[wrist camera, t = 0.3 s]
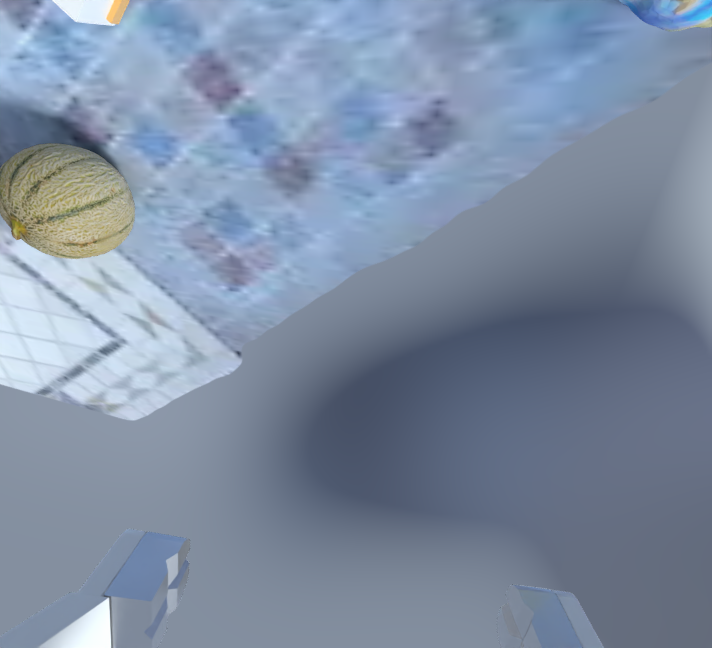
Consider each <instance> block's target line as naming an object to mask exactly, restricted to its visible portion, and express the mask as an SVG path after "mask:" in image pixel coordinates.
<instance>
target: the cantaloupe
mask: <svg viewBox="0 0 712 648" xmlns="http://www.w3.org/2000/svg"><path fill="white" fill-rule="evenodd" d="M0 214H1V216H2V217H3V219H4V220H5V221H6V223H7V224H8V225H9V226H10V228H11V229H12V230H11V232H12V236H13V237H14V238H15V239H16V240H19V239H22V240H23V241H24V242H26V243H27V244H29V245H30V246H32V247H34V248H36V249H37V250H39V251H41V252H43V253H45V254H49V255H52V256H55V257H59V258H69V259H79V258H87V257H91V256H98V255H100V254H105V253H107V252H109V251H110V250H112V249H114V248H116V247H117V246H118V245H120V244H121V243H122V242H123V241H124V240H125V239H126V237H127V236H128V235H129V233H130V231H131V230H132V227H133V223H134V218H135V206H134V201H133V197H132V194H131V191H130V189H129V187H128V185H127V183H126V180H125V179H124V177H123V176H122V175H121V174H120V173H119V172H118V171H117V170H116V169H115V168H114V167H113V166H112V165H111V164H110V163H108V162H107V161H106V160H105V159H104V158H102V157H101V156H99V155H98V154H96V153H94V152H91V151H89V150H87V149H84V148H81V147H76V146H72V145H65V144H58V143H48V144H38V145H35V146H32V147H29V148H26V149H23V150H22V151H20V152H18V153H16V154H15V155H14V156H13V157H11V158H10V159H9V160H7V161H6V162H5V163H4V164H3V165H2V167H1V168H0Z"/></svg>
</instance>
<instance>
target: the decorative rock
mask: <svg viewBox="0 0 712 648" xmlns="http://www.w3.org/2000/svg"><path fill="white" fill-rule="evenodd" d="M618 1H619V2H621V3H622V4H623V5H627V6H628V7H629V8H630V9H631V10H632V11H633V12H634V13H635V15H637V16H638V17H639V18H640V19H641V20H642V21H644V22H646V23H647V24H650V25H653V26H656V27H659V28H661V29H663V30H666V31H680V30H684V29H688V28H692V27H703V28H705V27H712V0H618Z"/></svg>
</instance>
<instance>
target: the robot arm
mask: <svg viewBox="0 0 712 648" xmlns="http://www.w3.org/2000/svg"><path fill="white" fill-rule="evenodd" d="M189 550H190V539H187V538H181V537H176V536H170V535H165V534H159V533H153V532H147V531H140V530H134V529H127V530H126V531H124V532H123V533H122V534H121V535H120V536H119V537H118V539H117V540H116V542H115V543H114V544H113V546H112V547H111V548H110V550H109V551H108V552H107V553H106V555H105V556H104V558H103V559H102V560H101V562H100V563H99V564H98V566H97V567H96V568H95V570H94V571H93V572H92V574H91V575H90V577H89V578H88V579H87V581H86V582H85V583H84V585H83V586H82V587H81V588H80V590H79V591H78V592H77V593H76V592H70V593H68V594H66V595H65V596H63V597H62V598H60V599H58V600H57V601H55V602H54V603H52V604H50V605H49V606H47V607H46V608H44V609H43V610H41V611H40V612H38V613H36V614H34V615H33V616H31V617H30V618H28V619H27V620H25V621H24V622H22V623H20V624H18V625H17V626H15V627H14V628H12V629H10V630H9V631H7V632H6V633H4V634H3V635H1V636H0V648H158V647H159V645H160V643H161V640H162V638H163V636H164V634H165V632H166V630H167V617H168V615H169V614H170V613H171V612H172V611H174V610H175V609H176V608H177V606H178V604H179V602H180V600H181V597H182V595H183V592H184V589H185V586H186V583H187V579H188V574H189V562H188V561H187V559H186V557H187V554H188V553H189ZM506 597H507V600H508V603H506V604H505V605H504V606H502V607H500V611H499V614H498V617H497V633H498V639H499V644H500V646H501V648H604V647H603V645H602V644H601V642H600V640H599V638H598V636H597V634H596V633H595V631H594V629H593V627H592V625H591V623H590V622H589V620H588V618H587V616H586V615H585V613H584V611H583V609H582V607H581V605H580V604H579V602H578V600H577V598H576V597H575V596H574V595H573V594H572V593H569V592H562V591H556V590H549V589H544V588H536V587H528V586H520V585H513V584H512V585H511V586H510V587H508V590H507V592H506Z"/></svg>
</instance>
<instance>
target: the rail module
mask: <svg viewBox="0 0 712 648" xmlns="http://www.w3.org/2000/svg"><path fill="white" fill-rule="evenodd" d="M52 1H53V2H54V3H56V4H57V5H58V6H59V7H60V8H61V9H62V10H63V11H64V12H65V13H67V14H68V15H69V16H70V17H71V18H72V19H73V20H74V21H75V22H81V23H91V24H101V25H111V26H114V25H115V24H119V22H120V20H121V18H122V16H123V14H124V11H125V9H126V7H127V5H128V3H129V1H130V0H52Z"/></svg>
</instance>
